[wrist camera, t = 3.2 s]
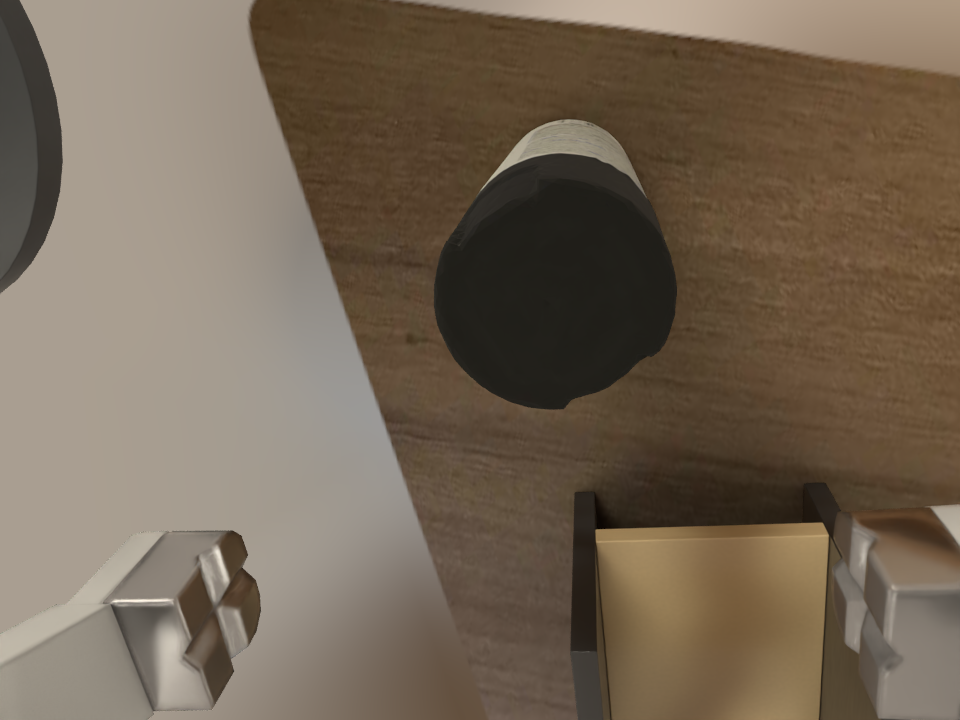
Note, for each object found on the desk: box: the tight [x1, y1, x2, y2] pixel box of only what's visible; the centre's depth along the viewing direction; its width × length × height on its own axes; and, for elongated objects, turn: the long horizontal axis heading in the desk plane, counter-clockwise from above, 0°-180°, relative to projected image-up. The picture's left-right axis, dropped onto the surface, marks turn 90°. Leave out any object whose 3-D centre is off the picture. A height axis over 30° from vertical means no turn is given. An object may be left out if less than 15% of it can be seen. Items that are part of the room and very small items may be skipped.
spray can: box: [434, 119, 677, 409], centre depth 28 cm, size 7×7×20 cm
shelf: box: [570, 483, 907, 720], centre depth 39 cm, size 14×16×15 cm
